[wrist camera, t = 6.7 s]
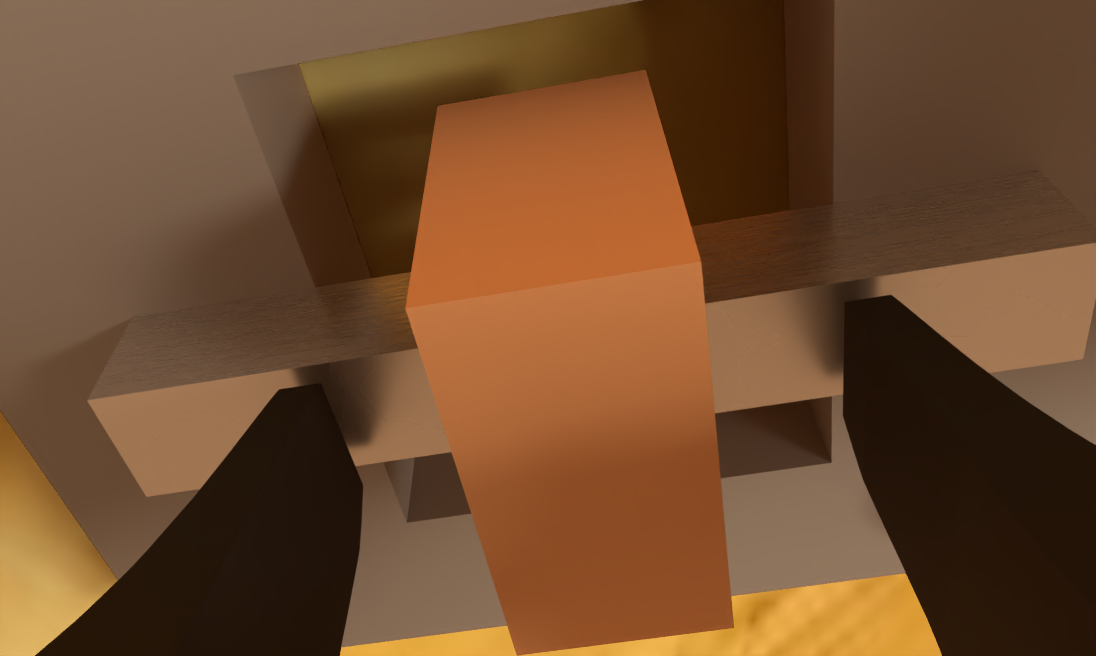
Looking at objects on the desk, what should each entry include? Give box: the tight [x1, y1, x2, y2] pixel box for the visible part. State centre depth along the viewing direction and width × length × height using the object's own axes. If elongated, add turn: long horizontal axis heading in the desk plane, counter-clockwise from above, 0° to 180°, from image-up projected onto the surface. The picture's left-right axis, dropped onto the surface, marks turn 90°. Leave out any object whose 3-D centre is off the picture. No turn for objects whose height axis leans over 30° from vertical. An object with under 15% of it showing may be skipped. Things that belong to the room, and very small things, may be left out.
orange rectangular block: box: [405, 70, 734, 655], centre depth 13 cm, size 3×6×5 cm, turn 10°
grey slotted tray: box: [0, 0, 1096, 647], centre depth 16 cm, size 20×16×5 cm
